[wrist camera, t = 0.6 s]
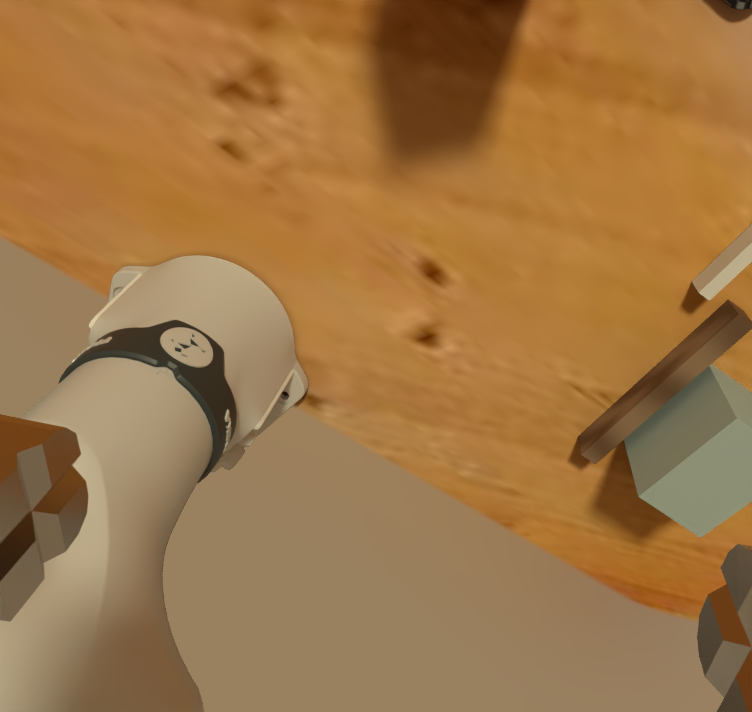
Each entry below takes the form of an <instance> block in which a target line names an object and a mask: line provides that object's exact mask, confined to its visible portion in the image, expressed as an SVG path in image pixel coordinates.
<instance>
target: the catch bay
mask: <svg viewBox="0 0 752 712" xmlns="http://www.w3.org/2000/svg"><path fill="white" fill-rule="evenodd" d="M751 262H752V224H751V225H750V226H749V227H748V228H747V229H746V230H745V231H744V232H743V233H742V234H741V235H740V236H739V237H738V238H737V239H736V240H735V241H733V242H732V243H731V244H730V245H729V246H728V247H727V248H726V249H725V250H724V251H723V252H722V253H721V254H720V255H719V256H718V257H717V258H716V259H715V260H714V261H713V262H712V263H711V264H710V265H709V266H708V267H707V268H705V269H704V270H703V271H702V272H701V273H700V274H699V275H698V276H697V277H696V278H695V279H694V280H693V281H692V283H693V285H694V286H695V288H696V289H697V291H698V293H699V294H701V295H702V296H704V297H705V298H706V299H708V300H709V301H710V300H711V299H712V298H713V297H714V296H715V295H716V294H717V293H718V292H719V291H721V290H722V289H723V288H724V287H725V286H726V285H727V284H728V283H729V282H730V281H731V280H732V279H733V278H734V277H736V276H737V275H738V274H739V273H740V272H741V271H742V270H743V269H744V268H745V267H746V266H747V265H748V264H750V263H751Z"/></svg>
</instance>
